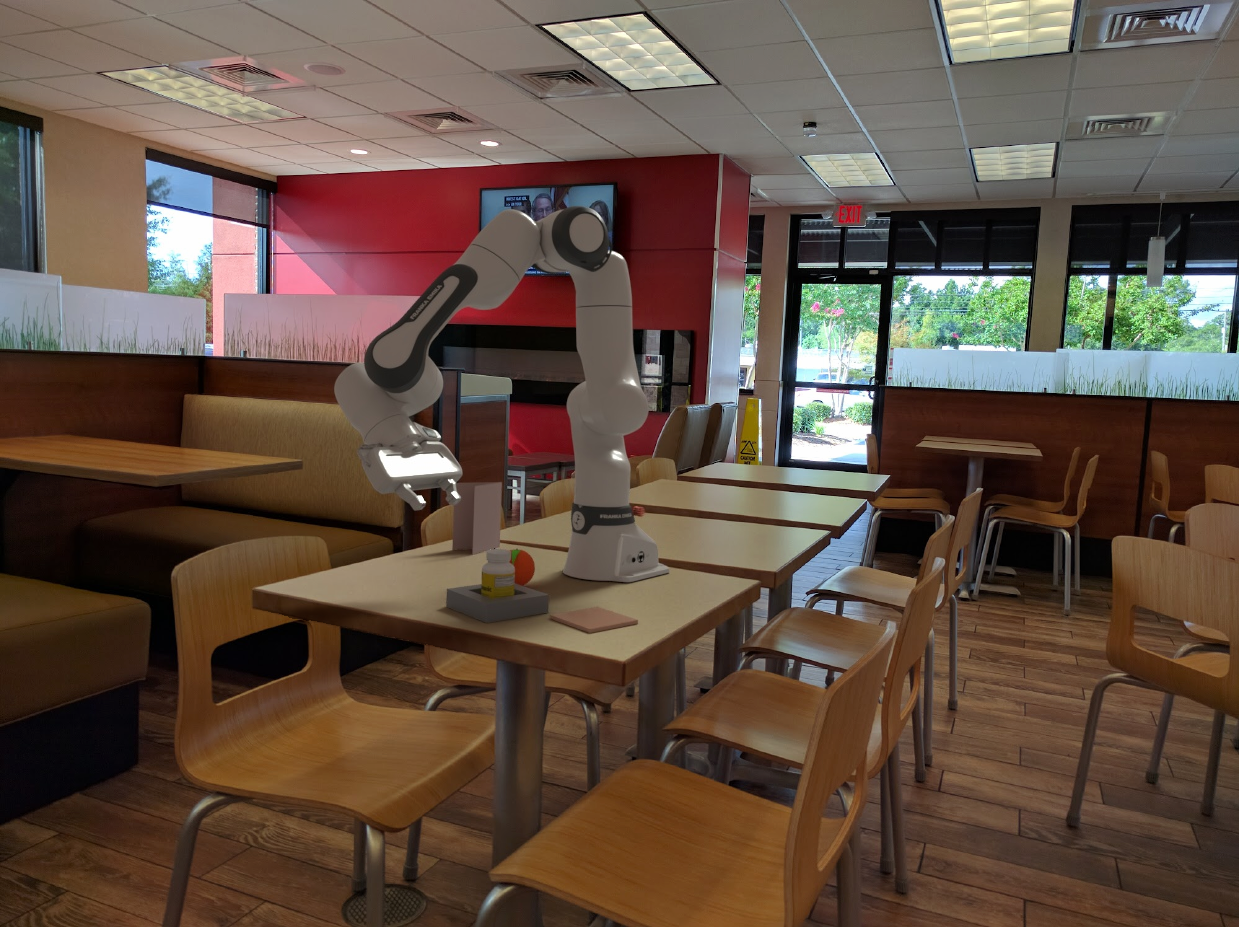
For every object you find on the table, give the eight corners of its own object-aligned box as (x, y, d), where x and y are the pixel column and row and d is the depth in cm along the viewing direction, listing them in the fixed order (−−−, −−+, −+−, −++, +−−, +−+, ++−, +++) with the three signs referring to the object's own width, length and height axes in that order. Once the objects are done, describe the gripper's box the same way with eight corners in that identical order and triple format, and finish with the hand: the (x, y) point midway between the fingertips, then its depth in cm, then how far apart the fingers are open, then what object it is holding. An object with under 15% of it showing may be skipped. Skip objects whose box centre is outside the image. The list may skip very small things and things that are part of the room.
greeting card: (498, 546, 200) (500, 481, 199) (511, 552, 194) (514, 485, 193) (450, 549, 194) (452, 482, 193) (463, 555, 188) (465, 486, 187)
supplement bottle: (476, 606, 145) (478, 548, 144) (508, 605, 147) (510, 547, 146) (485, 614, 140) (487, 554, 139) (517, 613, 142) (519, 553, 141)
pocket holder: (506, 597, 152) (507, 580, 152) (548, 612, 143) (549, 594, 143) (446, 606, 144) (446, 588, 144) (486, 623, 135) (487, 604, 135)
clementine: (531, 593, 156) (532, 554, 156) (492, 591, 157) (494, 552, 156) (536, 583, 164) (537, 546, 164) (499, 581, 164) (500, 544, 164)
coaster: (597, 610, 146) (597, 606, 146) (637, 623, 139) (638, 620, 139) (549, 618, 140) (549, 614, 140) (589, 633, 132) (589, 629, 132)
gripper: (363, 432, 141) (409, 498, 137) (443, 430, 159) (485, 488, 156) (342, 458, 143) (386, 523, 140) (423, 453, 161) (464, 511, 158)
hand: (439, 505), depth 148 cm, fingers open, 8 cm apart
